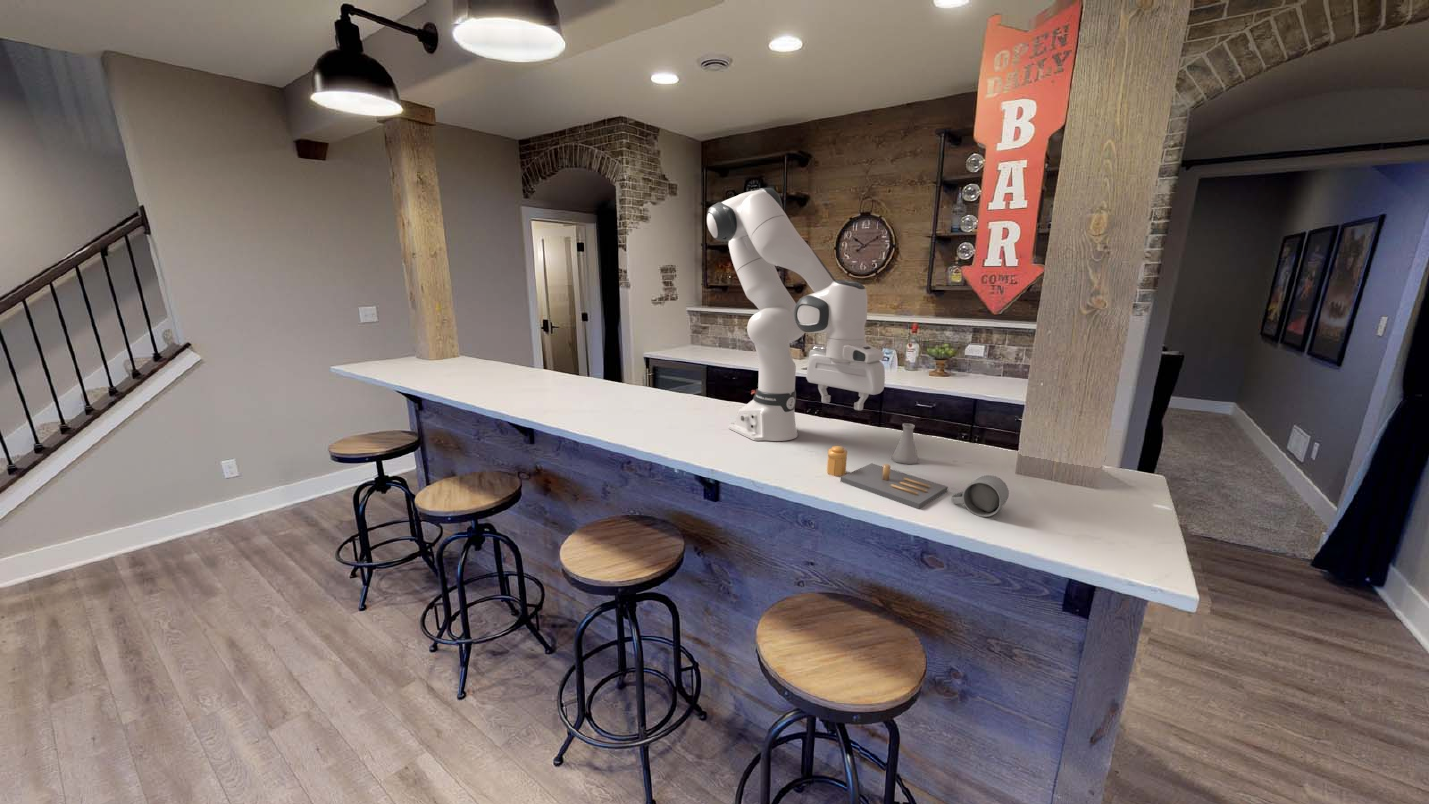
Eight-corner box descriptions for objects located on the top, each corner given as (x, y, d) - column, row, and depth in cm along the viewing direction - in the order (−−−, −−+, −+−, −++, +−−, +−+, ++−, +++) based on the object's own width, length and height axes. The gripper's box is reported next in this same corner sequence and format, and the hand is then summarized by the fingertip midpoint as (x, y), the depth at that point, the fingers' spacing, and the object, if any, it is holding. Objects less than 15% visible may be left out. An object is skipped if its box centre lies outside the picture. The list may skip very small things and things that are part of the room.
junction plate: (840, 481, 129) (841, 463, 128) (871, 467, 138) (872, 450, 137) (918, 508, 115) (921, 488, 114) (947, 491, 124) (949, 472, 123)
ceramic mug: (1008, 509, 116) (1013, 475, 114) (998, 522, 110) (1003, 487, 108) (957, 496, 122) (961, 464, 121) (945, 507, 116) (949, 474, 115)
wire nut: (823, 472, 135) (824, 447, 133) (833, 467, 138) (835, 443, 136) (838, 477, 132) (840, 452, 130) (848, 473, 135) (851, 448, 133)
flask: (915, 456, 147) (918, 421, 145) (922, 465, 140) (926, 429, 138) (888, 455, 148) (891, 420, 146) (894, 464, 141) (897, 428, 139)
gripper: (802, 346, 132) (799, 400, 136) (875, 356, 118) (871, 416, 121) (817, 344, 136) (815, 396, 140) (890, 353, 122) (885, 411, 125)
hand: (841, 406), depth 130 cm, fingers open, 8 cm apart
